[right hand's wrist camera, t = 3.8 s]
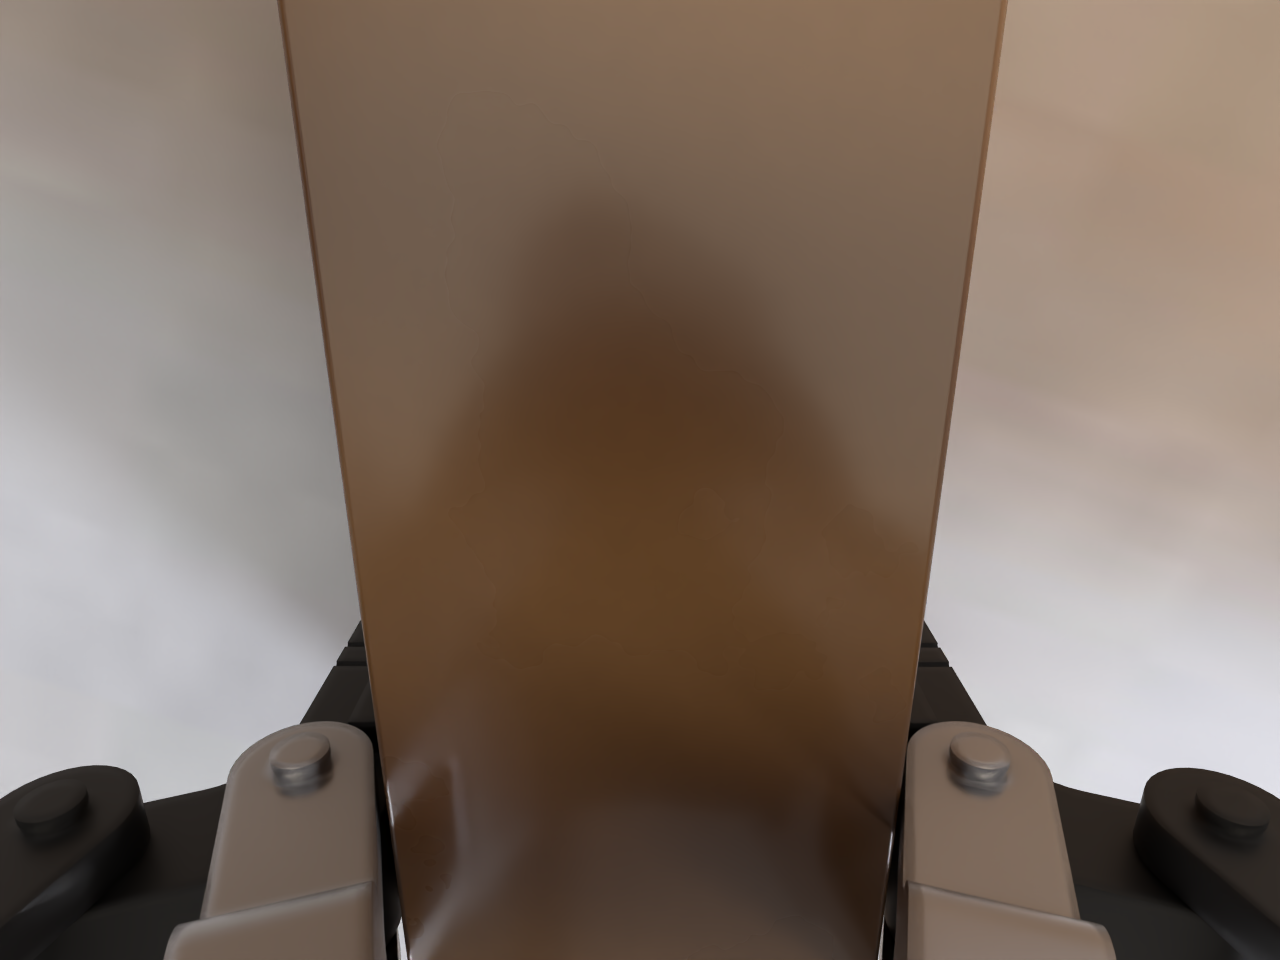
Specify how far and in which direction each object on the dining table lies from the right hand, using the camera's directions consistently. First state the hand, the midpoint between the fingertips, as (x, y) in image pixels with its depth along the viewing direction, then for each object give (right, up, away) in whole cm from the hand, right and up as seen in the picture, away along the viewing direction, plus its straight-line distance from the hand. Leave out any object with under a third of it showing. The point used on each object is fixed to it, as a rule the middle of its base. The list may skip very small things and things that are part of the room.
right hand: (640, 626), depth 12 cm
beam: (0, +22, -5) cm, 22 cm away
